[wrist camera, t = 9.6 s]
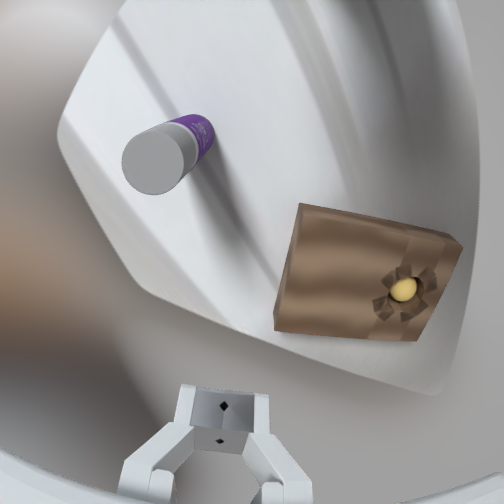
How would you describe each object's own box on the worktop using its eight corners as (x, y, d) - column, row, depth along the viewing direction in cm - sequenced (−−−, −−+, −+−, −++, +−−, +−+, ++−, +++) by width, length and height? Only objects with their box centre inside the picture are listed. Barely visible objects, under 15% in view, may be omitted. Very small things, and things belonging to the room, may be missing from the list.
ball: (390, 270, 39) (415, 286, 36) (401, 263, 41) (425, 277, 39) (379, 295, 41) (402, 311, 38) (391, 286, 43) (413, 301, 41)
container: (223, 131, 33) (200, 157, 20) (196, 163, 35) (159, 210, 21) (190, 105, 31) (144, 115, 18) (164, 138, 33) (108, 170, 20)
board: (299, 202, 37) (304, 215, 33) (449, 234, 38) (463, 247, 35) (273, 311, 44) (274, 330, 41) (407, 324, 45) (416, 341, 42)
